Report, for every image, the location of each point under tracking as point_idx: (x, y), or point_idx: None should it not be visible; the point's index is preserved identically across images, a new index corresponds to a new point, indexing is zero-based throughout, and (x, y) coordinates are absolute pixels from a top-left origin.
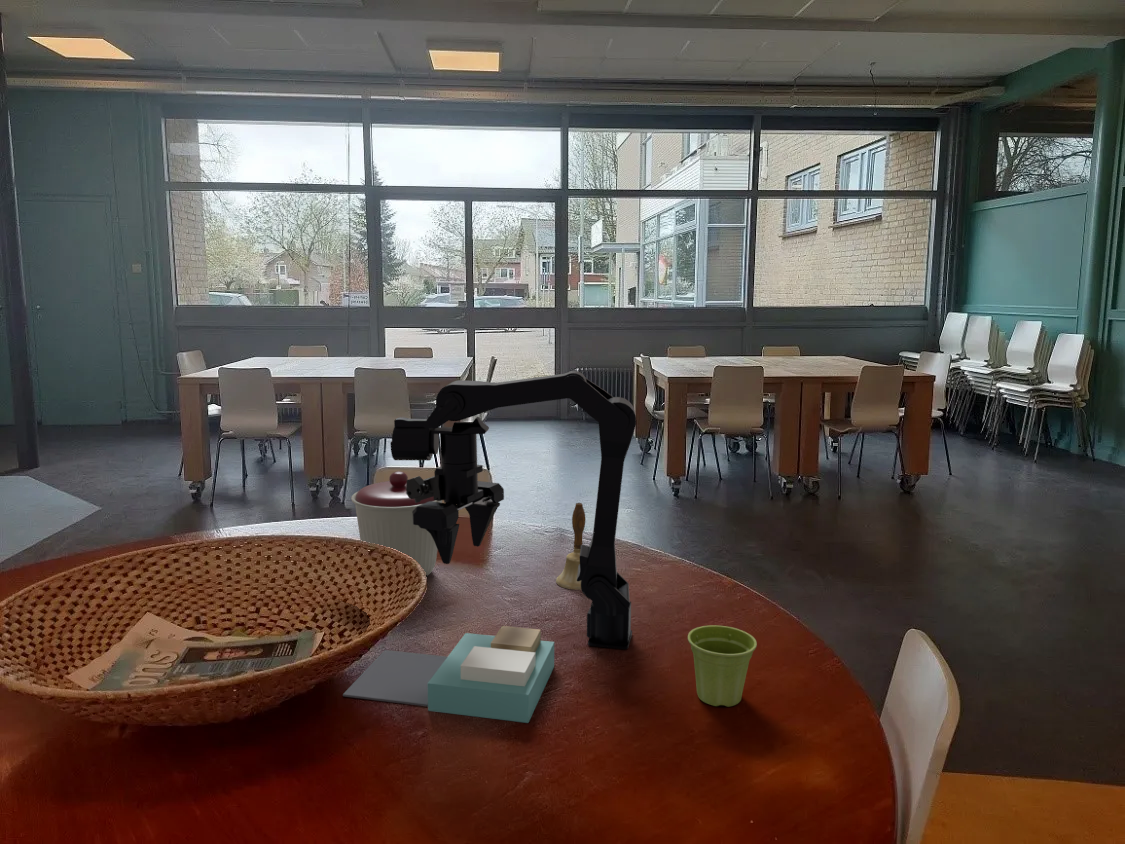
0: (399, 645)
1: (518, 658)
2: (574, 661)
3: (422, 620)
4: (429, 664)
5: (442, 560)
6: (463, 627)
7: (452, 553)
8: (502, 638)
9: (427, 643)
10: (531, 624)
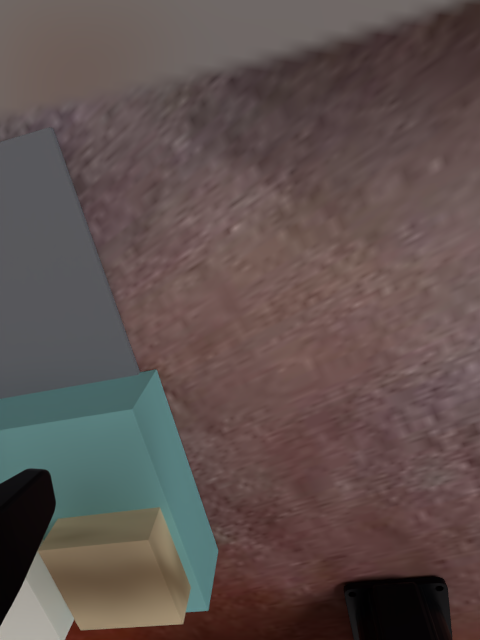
0: (113, 142)
1: (14, 623)
2: (261, 575)
3: (326, 82)
4: (61, 311)
5: (10, 482)
6: (328, 264)
7: (1, 613)
8: (79, 565)
9: (172, 222)
10: (426, 437)
